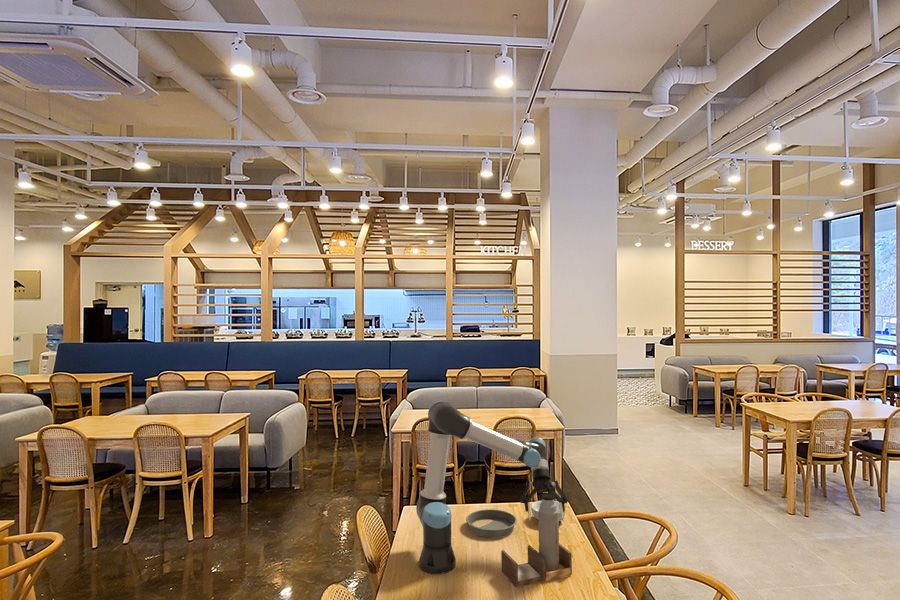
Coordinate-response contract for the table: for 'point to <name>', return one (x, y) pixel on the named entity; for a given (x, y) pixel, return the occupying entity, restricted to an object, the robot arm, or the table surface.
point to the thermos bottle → (549, 532)
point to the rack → (535, 567)
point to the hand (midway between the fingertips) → (546, 519)
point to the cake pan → (492, 523)
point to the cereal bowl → (536, 506)
